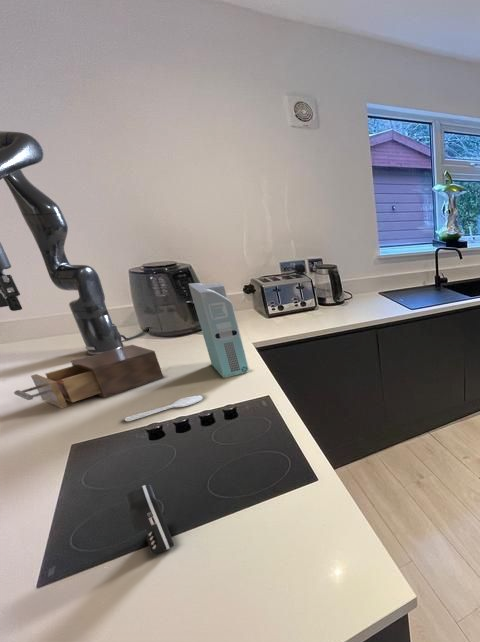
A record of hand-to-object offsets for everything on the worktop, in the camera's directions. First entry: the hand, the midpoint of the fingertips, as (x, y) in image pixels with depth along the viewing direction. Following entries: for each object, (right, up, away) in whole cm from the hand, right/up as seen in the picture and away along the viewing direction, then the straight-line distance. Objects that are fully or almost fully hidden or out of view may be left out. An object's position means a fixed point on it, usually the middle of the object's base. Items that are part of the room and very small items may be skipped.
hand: (10, 308), depth 117 cm
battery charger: (+83, -48, -44) cm, 106 cm away
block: (+16, -25, +3) cm, 30 cm away
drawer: (+16, -26, +3) cm, 31 cm away
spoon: (+47, -30, -1) cm, 55 cm away
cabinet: (+21, -23, +14) cm, 34 cm away
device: (+46, -19, +26) cm, 57 cm away
